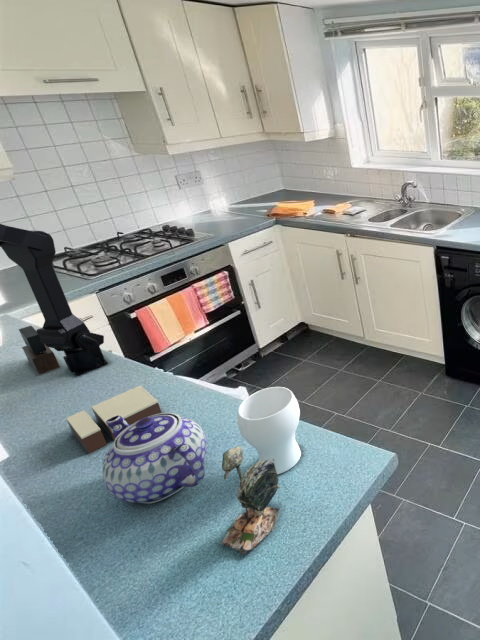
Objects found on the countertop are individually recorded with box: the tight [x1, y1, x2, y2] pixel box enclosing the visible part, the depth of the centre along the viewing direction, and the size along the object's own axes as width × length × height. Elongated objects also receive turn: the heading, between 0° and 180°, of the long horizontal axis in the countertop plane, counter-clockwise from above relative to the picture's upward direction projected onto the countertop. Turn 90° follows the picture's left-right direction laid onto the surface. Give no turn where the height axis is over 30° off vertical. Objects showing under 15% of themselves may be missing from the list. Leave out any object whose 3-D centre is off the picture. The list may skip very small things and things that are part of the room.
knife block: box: [21, 344, 61, 375], centre depth 116 cm, size 4×10×5 cm, turn 57°
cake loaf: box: [91, 385, 163, 442], centre depth 97 cm, size 9×10×4 cm
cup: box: [236, 386, 302, 475], centre depth 85 cm, size 11×11×15 cm
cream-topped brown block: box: [65, 409, 108, 454], centre depth 92 cm, size 3×10×4 cm, turn 57°
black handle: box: [18, 325, 47, 355], centre depth 115 cm, size 2×8×10 cm, turn 57°
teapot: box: [102, 412, 208, 504], centre depth 81 cm, size 25×15×15 cm, turn 66°
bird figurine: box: [221, 445, 280, 555], centre depth 72 cm, size 8×11×20 cm
